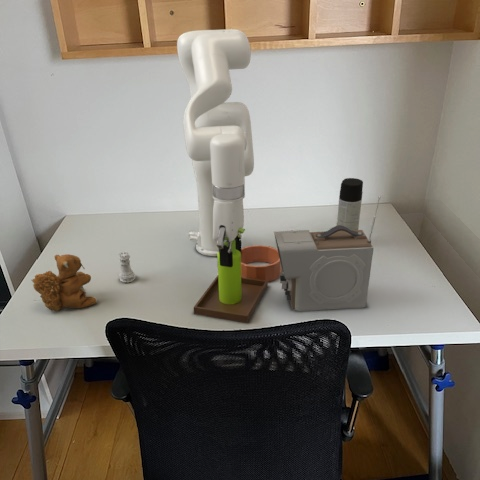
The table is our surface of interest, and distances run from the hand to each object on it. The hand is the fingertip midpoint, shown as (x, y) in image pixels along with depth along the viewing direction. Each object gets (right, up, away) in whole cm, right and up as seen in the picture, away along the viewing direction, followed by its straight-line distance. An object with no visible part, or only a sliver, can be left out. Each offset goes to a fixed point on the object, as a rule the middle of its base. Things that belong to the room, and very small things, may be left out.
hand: (230, 259), depth 134 cm
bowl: (+8, -1, +19) cm, 21 cm away
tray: (0, -10, +7) cm, 12 cm away
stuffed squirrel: (-43, -11, +7) cm, 45 cm away
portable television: (+23, -10, +6) cm, 26 cm away
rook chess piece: (-29, -4, +17) cm, 34 cm away
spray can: (+35, +9, +33) cm, 49 cm away
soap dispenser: (0, -10, +7) cm, 12 cm away
